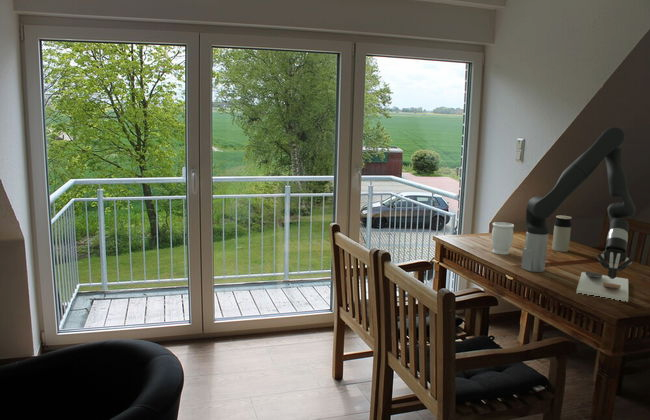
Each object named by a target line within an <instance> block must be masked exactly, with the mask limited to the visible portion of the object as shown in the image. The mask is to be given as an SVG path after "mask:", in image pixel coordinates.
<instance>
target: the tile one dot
mask: <svg viewBox="0 0 650 420" xmlns="http://www.w3.org/2000/svg"><path fill="white" fill-rule="evenodd" d="M585 273H586V275H590V276H593V277H602V275H603V274H602V273H598V272H591V271H585Z"/></svg>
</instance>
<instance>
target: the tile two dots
mask: <svg viewBox="0 0 650 420" xmlns="http://www.w3.org/2000/svg"><path fill="white" fill-rule="evenodd" d="M603 286H608V287H610V288H620V287H621V285H617V284H611V283H604V282H603Z"/></svg>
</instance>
